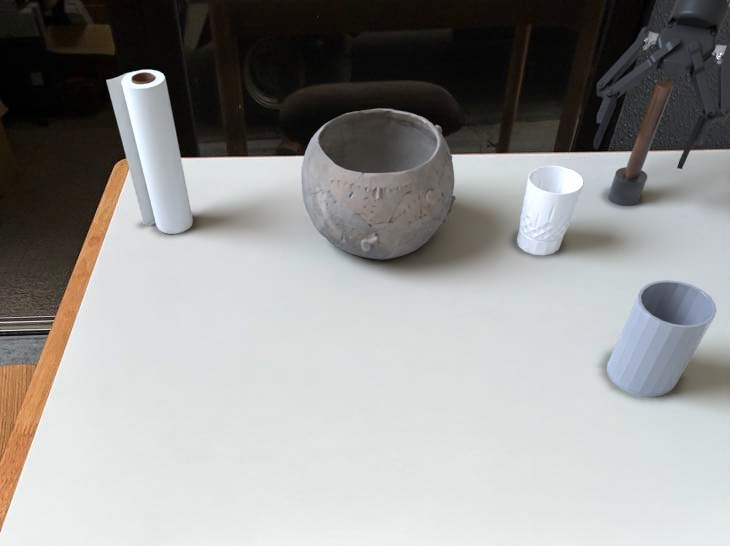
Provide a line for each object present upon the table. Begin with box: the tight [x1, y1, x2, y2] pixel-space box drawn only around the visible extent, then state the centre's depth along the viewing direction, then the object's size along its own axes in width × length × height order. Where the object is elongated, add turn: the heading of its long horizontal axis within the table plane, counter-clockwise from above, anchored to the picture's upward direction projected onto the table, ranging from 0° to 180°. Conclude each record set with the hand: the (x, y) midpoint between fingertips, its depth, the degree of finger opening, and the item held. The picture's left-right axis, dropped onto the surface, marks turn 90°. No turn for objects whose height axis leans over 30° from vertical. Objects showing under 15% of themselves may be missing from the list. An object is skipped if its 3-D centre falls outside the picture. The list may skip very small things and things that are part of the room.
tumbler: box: [606, 279, 717, 398], centre depth 82 cm, size 9×9×11 cm
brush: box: [607, 80, 674, 207], centre depth 102 cm, size 5×5×17 cm
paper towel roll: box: [106, 69, 194, 235], centre depth 99 cm, size 7×6×21 cm
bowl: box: [300, 107, 457, 261], centre depth 99 cm, size 23×23×15 cm
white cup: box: [516, 165, 585, 256], centre depth 99 cm, size 8×8×10 cm
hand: (637, 155), depth 102 cm, fingers open, 12 cm apart
